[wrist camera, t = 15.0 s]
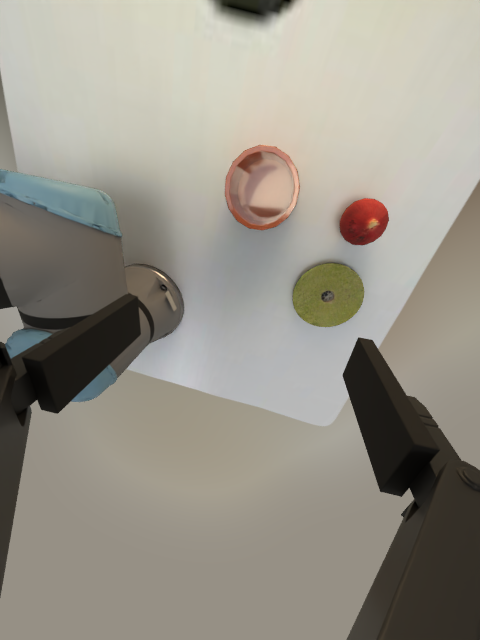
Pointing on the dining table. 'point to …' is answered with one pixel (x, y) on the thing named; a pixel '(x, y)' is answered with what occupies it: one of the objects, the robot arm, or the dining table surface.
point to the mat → (328, 295)
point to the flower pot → (262, 187)
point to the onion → (364, 221)
